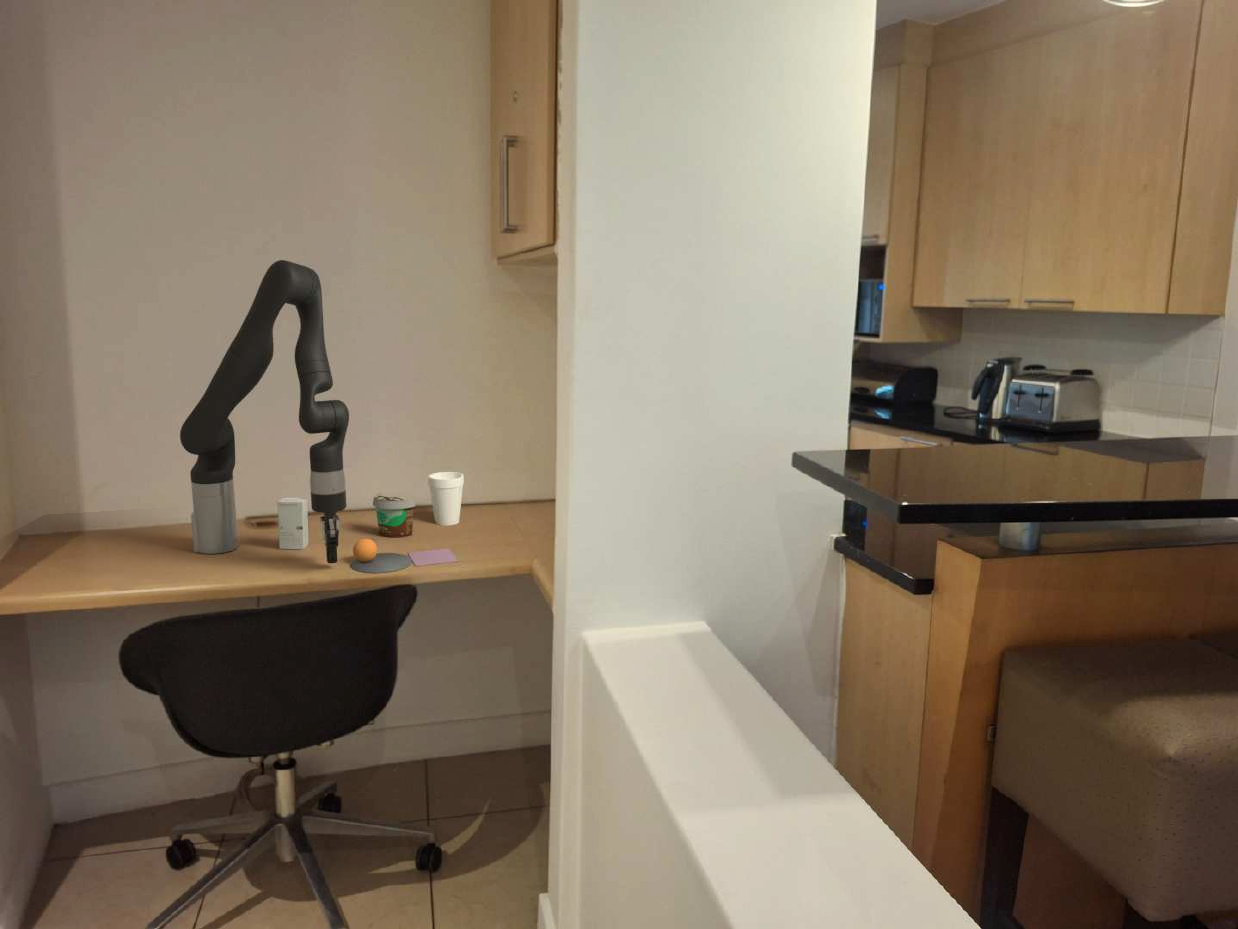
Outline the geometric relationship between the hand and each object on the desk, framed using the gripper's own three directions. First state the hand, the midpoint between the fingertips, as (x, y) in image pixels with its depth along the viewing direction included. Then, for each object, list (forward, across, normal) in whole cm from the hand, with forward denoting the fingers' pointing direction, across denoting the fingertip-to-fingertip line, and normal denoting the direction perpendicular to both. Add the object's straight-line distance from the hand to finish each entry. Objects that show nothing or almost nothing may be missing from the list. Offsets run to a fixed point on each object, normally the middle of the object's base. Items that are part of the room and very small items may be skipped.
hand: (332, 562), depth 203 cm
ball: (-1, +2, -8) cm, 8 cm away
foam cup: (+2, +29, -33) cm, 44 cm away
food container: (+2, +22, -16) cm, 27 cm away
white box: (+2, +20, +7) cm, 21 cm away
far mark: (+2, 0, -23) cm, 23 cm away
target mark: (+2, 0, -11) cm, 11 cm away
